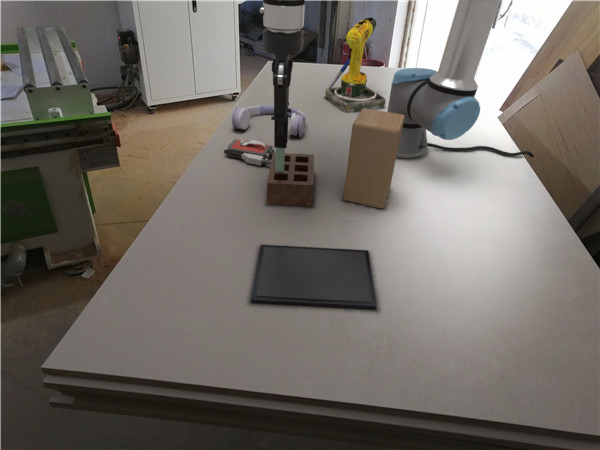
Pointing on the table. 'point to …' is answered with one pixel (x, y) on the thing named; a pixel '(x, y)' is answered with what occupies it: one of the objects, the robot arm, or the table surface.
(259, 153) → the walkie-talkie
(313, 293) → the tablet
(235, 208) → the table surface
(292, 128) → the headphones
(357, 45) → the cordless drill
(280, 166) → the stylus
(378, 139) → the wooden block
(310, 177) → the pen block
